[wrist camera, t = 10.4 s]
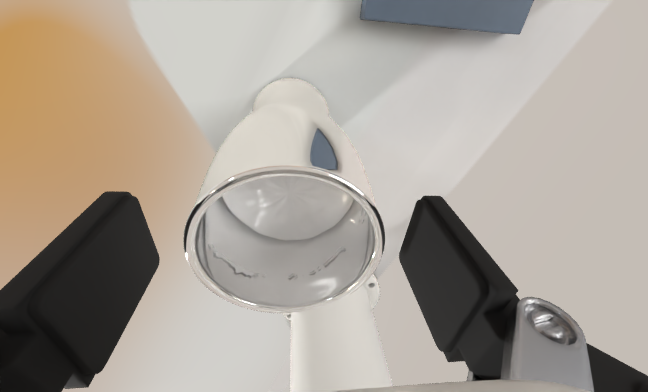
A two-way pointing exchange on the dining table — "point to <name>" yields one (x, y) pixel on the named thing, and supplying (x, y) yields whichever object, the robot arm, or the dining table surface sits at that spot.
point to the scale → (451, 13)
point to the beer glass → (285, 209)
